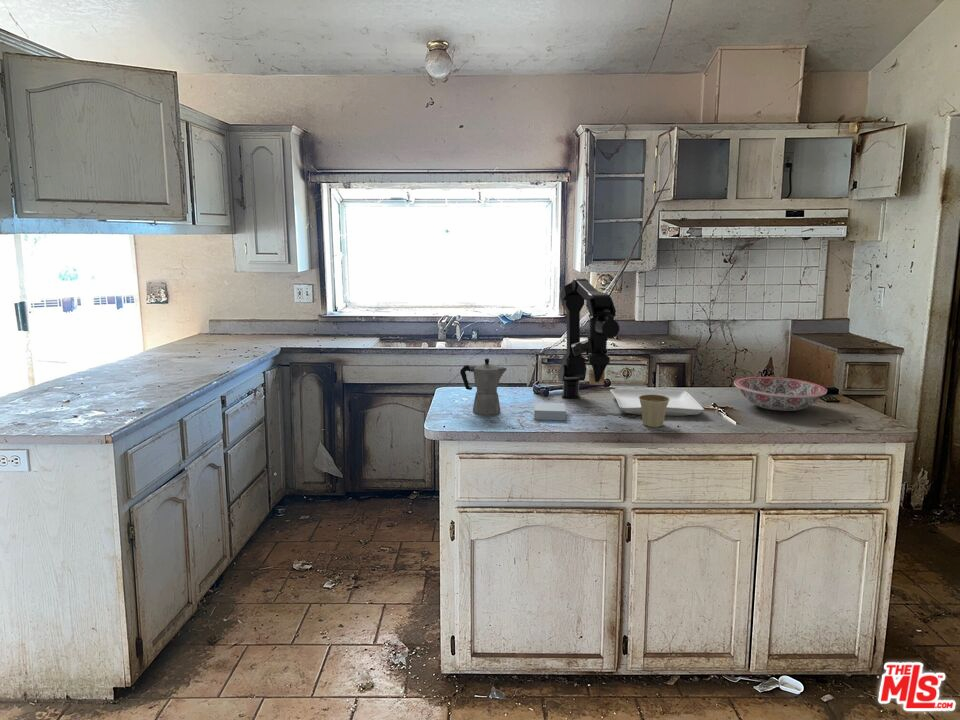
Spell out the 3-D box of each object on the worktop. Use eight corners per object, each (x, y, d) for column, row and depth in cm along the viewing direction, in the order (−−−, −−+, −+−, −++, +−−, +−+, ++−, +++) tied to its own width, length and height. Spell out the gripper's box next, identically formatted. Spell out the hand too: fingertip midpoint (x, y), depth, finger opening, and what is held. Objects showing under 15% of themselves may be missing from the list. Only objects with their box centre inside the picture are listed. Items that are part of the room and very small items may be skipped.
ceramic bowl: (741, 394, 255) (742, 373, 254) (828, 405, 241) (830, 382, 239) (724, 411, 231) (726, 388, 229) (820, 425, 216) (823, 400, 215)
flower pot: (646, 430, 209) (648, 402, 208) (631, 421, 218) (633, 395, 217) (674, 427, 212) (675, 400, 210) (658, 419, 221) (659, 393, 219)
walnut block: (588, 381, 228) (589, 369, 227) (602, 382, 227) (603, 370, 226) (589, 384, 223) (590, 372, 222) (603, 385, 223) (604, 373, 222)
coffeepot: (506, 408, 234) (507, 356, 230) (506, 415, 224) (507, 361, 221) (461, 407, 234) (461, 355, 231) (459, 414, 225) (459, 360, 222)
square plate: (704, 420, 222) (705, 408, 221) (619, 418, 224) (619, 406, 223) (685, 399, 249) (686, 389, 248) (609, 397, 250) (609, 387, 250)
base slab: (534, 411, 230) (534, 402, 229) (564, 412, 229) (564, 403, 228) (534, 419, 220) (534, 410, 219) (565, 420, 219) (565, 411, 219)
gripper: (571, 328, 232) (570, 373, 235) (574, 337, 214) (572, 386, 217) (605, 329, 231) (603, 374, 234) (610, 337, 213) (608, 387, 216)
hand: (596, 380), depth 225 cm, fingers closed on walnut block, 4 cm apart
